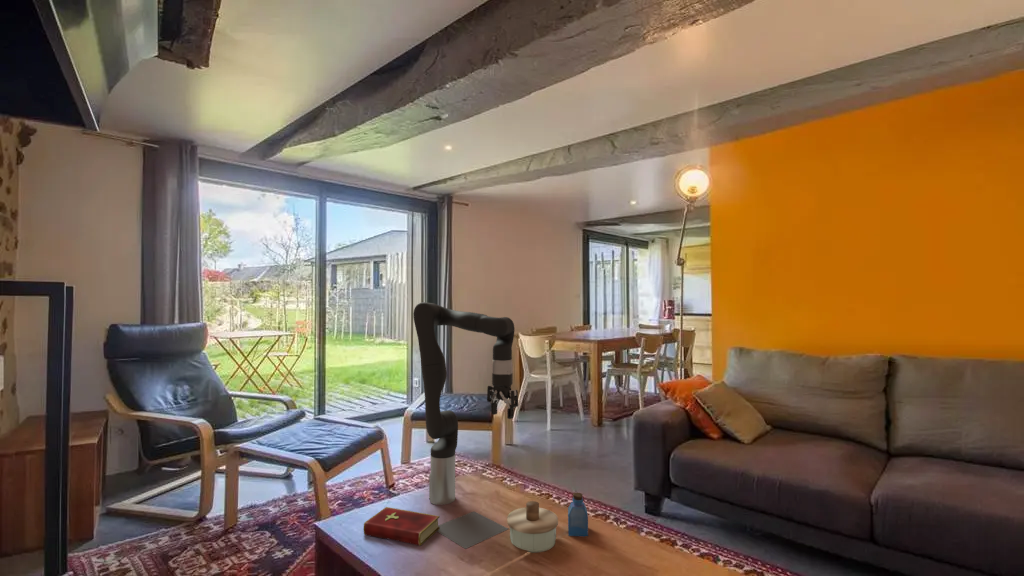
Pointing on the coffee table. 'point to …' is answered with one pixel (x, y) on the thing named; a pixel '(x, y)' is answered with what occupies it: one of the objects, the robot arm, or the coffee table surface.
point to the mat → (470, 529)
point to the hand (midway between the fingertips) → (502, 416)
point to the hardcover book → (402, 526)
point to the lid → (532, 519)
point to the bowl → (533, 540)
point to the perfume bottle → (577, 517)
